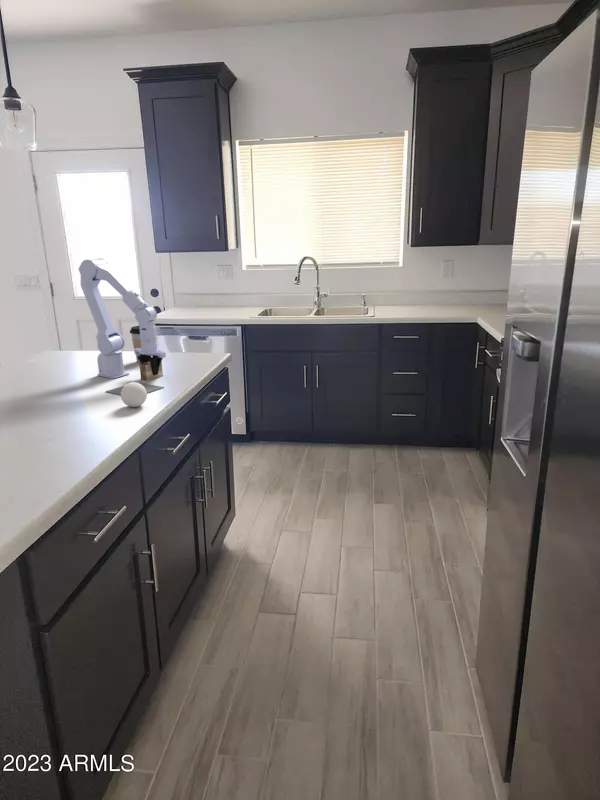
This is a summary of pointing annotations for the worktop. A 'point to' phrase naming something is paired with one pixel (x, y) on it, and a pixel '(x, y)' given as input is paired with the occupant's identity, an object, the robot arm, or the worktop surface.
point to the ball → (133, 394)
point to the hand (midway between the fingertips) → (151, 374)
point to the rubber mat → (148, 387)
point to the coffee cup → (136, 339)
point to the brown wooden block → (149, 371)
